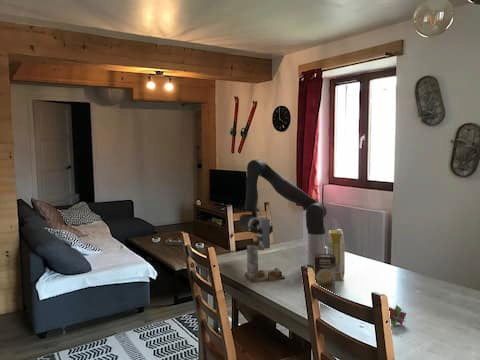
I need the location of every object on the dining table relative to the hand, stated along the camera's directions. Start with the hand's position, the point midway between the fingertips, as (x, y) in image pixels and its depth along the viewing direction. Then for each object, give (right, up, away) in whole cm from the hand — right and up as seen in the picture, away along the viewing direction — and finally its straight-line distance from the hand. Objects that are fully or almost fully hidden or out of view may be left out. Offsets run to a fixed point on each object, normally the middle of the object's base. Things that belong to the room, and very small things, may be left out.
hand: (266, 232), depth 203 cm
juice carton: (+33, -21, -9) cm, 40 cm away
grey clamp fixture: (-2, -8, +3) cm, 9 cm away
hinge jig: (-1, -21, -4) cm, 22 cm away
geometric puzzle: (+42, -25, -60) cm, 78 cm away
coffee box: (+24, -23, -26) cm, 42 cm away
